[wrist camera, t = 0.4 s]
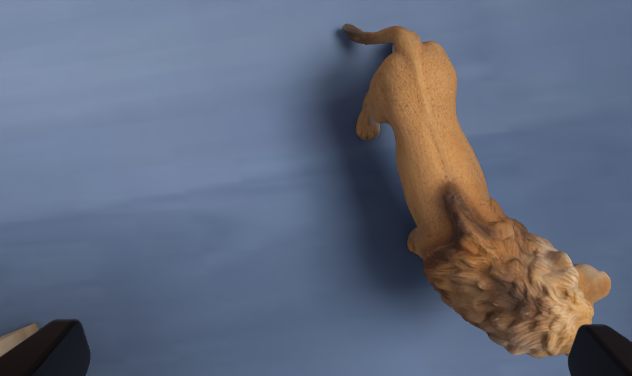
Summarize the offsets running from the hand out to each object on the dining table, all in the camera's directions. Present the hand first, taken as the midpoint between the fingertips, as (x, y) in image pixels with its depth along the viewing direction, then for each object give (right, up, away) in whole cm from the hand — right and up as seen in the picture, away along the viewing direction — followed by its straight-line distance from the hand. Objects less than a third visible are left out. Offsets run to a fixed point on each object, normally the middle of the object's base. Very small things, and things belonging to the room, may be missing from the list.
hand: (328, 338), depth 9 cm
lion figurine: (+5, +4, +15) cm, 16 cm away
